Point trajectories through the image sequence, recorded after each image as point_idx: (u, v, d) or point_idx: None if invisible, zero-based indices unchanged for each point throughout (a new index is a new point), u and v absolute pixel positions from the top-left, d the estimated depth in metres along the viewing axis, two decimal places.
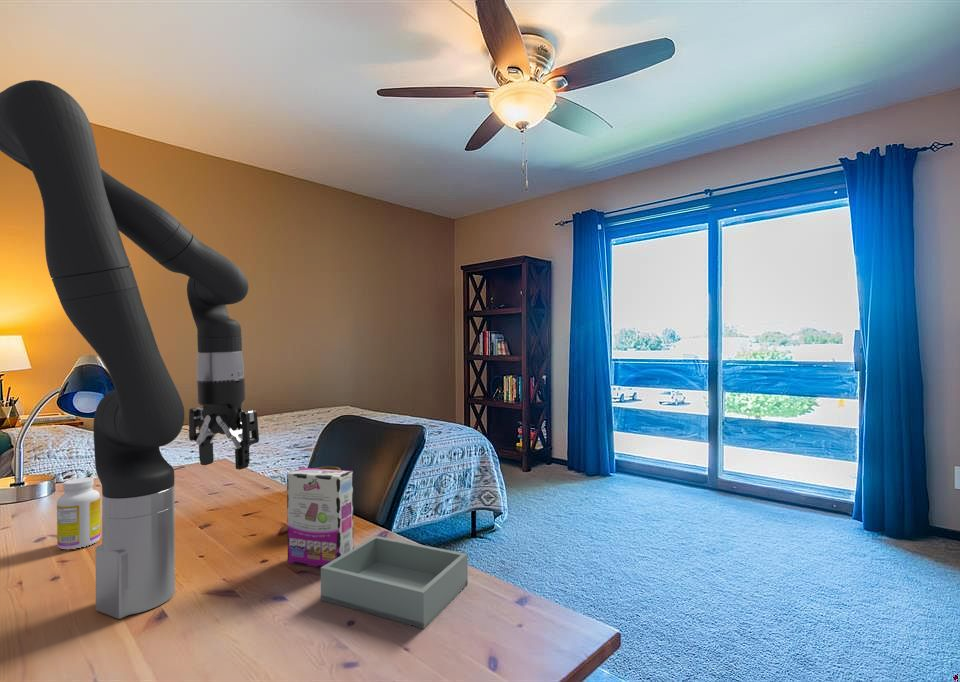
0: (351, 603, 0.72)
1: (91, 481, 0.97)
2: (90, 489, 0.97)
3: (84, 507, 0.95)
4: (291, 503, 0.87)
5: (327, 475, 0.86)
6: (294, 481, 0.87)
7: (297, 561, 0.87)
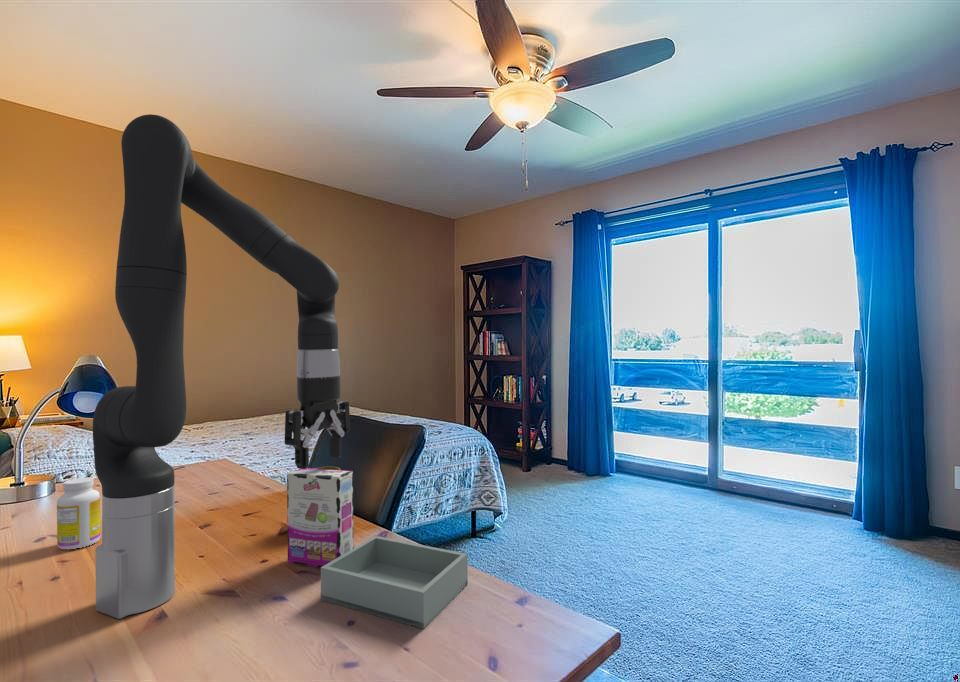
0: (351, 603, 0.72)
1: (91, 481, 0.97)
2: (90, 489, 0.97)
3: (84, 508, 0.95)
4: (292, 503, 0.87)
5: (327, 475, 0.86)
6: (294, 481, 0.87)
7: (297, 561, 0.87)
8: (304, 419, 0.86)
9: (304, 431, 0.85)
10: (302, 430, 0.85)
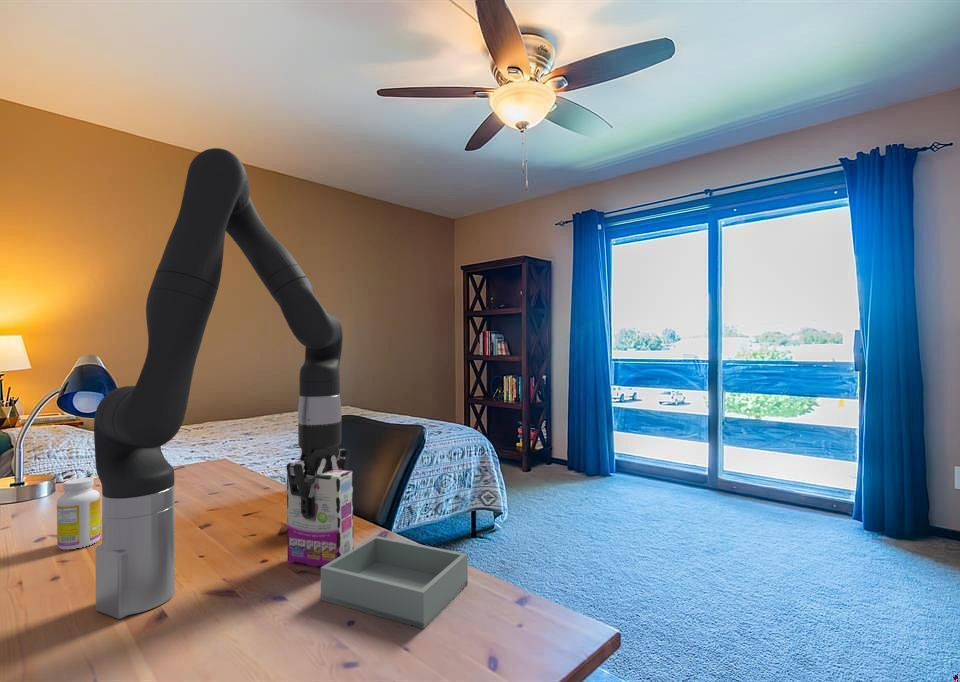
0: (351, 603, 0.72)
1: (91, 481, 0.97)
2: (90, 489, 0.97)
3: (84, 508, 0.95)
4: (291, 503, 0.87)
5: (327, 475, 0.86)
6: None
7: (297, 561, 0.87)
8: (306, 468, 0.86)
9: (308, 481, 0.85)
10: (306, 480, 0.86)
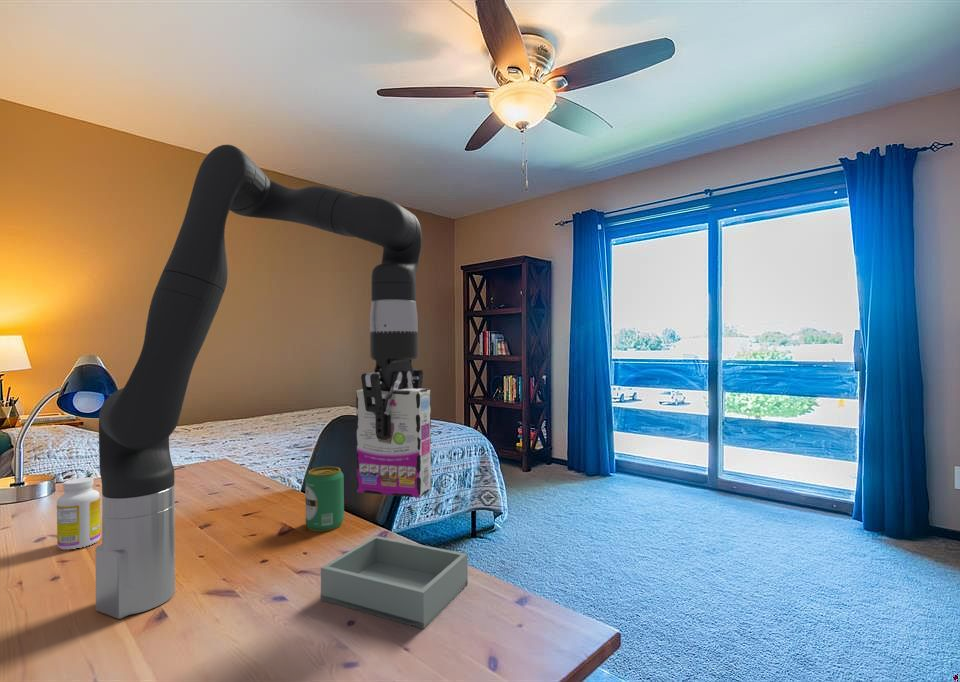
0: (351, 603, 0.72)
1: (91, 481, 0.97)
2: (90, 489, 0.97)
3: (84, 508, 0.95)
4: (362, 424, 0.76)
5: (405, 390, 0.75)
6: None
7: (368, 489, 0.76)
8: None
9: (383, 396, 0.74)
10: None
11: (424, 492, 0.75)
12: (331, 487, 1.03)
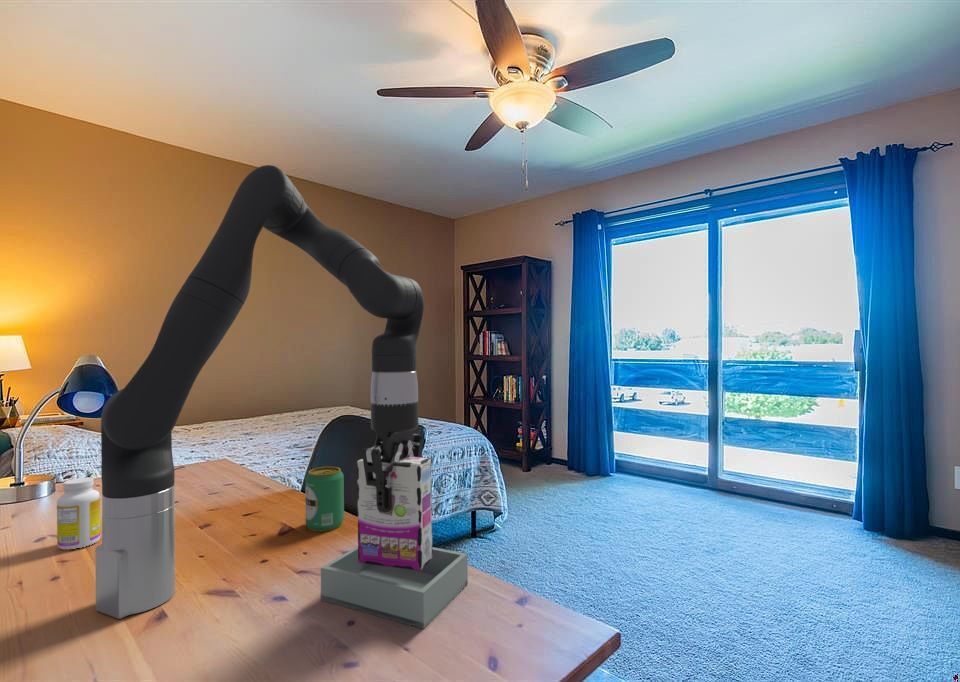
0: (351, 603, 0.72)
1: (91, 481, 0.97)
2: (90, 489, 0.97)
3: (84, 508, 0.95)
4: (363, 494, 0.76)
5: (406, 462, 0.75)
6: None
7: (369, 560, 0.76)
8: (381, 455, 0.75)
9: (384, 469, 0.75)
10: (381, 468, 0.75)
11: (425, 563, 0.75)
12: (331, 487, 1.03)
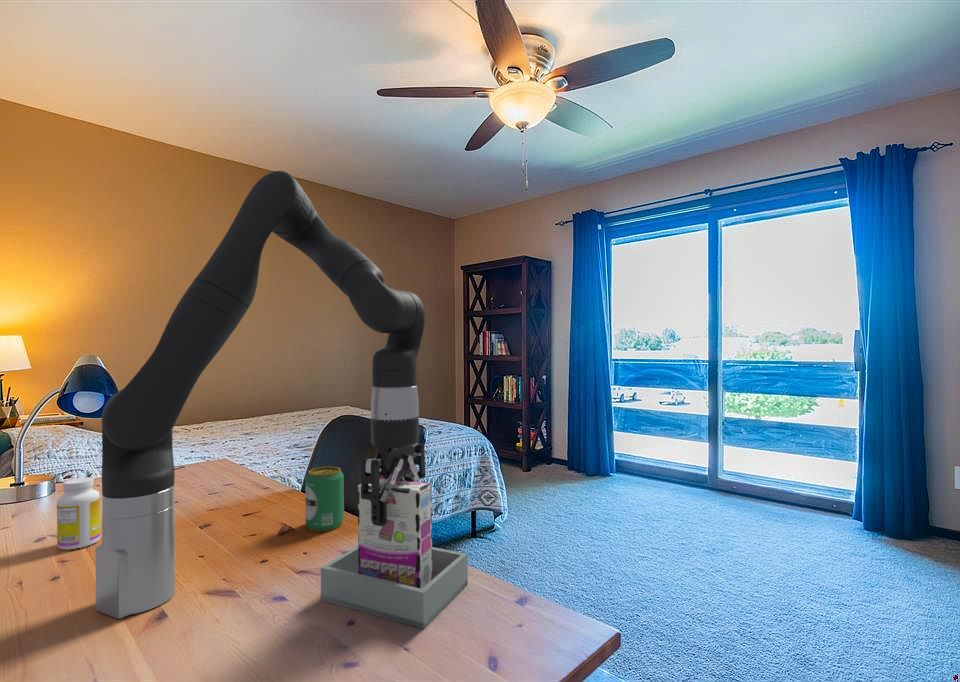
0: (351, 603, 0.72)
1: (91, 481, 0.97)
2: (90, 489, 0.97)
3: (84, 508, 0.95)
4: (363, 519, 0.77)
5: (405, 488, 0.75)
6: None
7: None
8: (380, 467, 0.75)
9: (381, 482, 0.74)
10: (379, 480, 0.74)
11: None
12: (331, 487, 1.03)
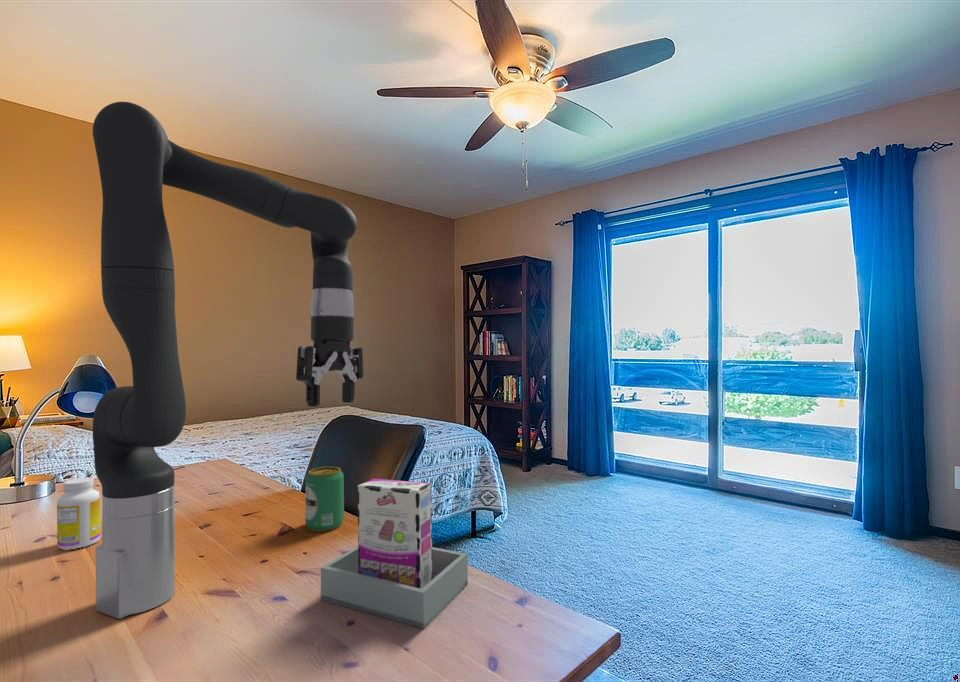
0: (351, 603, 0.72)
1: (91, 481, 0.97)
2: (90, 489, 0.97)
3: (84, 508, 0.95)
4: (363, 519, 0.77)
5: (405, 488, 0.75)
6: (366, 494, 0.77)
7: None
8: (316, 358, 0.86)
9: (316, 369, 0.85)
10: (314, 368, 0.85)
11: None
12: (331, 487, 1.03)
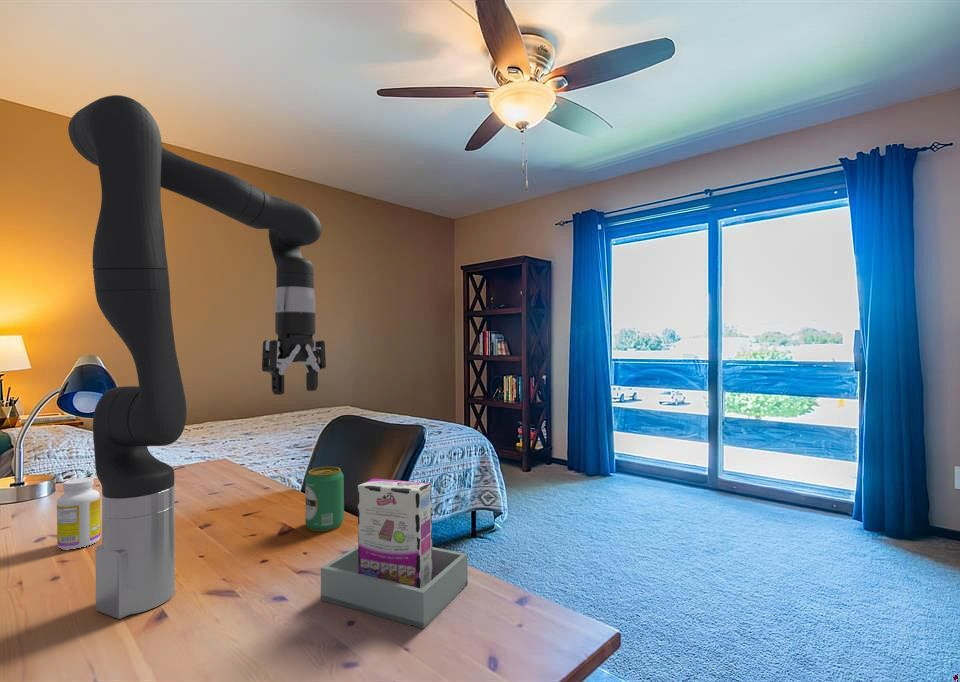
0: (351, 603, 0.72)
1: (91, 481, 0.97)
2: (90, 489, 0.97)
3: (84, 508, 0.95)
4: (363, 519, 0.77)
5: (404, 489, 0.75)
6: (366, 494, 0.77)
7: None
8: (281, 350, 0.94)
9: (280, 360, 0.93)
10: (279, 360, 0.93)
11: None
12: (331, 487, 1.03)
